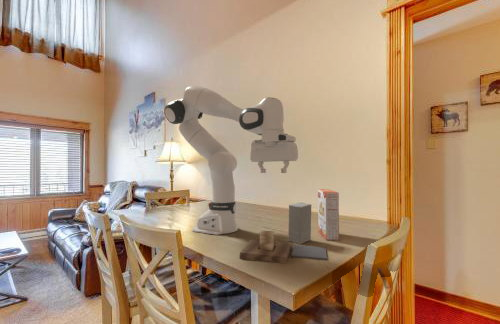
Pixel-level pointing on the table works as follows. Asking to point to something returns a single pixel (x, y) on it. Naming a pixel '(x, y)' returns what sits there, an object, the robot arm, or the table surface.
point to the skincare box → (299, 223)
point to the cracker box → (328, 214)
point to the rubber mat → (309, 252)
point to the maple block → (267, 240)
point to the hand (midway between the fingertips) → (273, 173)
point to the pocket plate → (266, 252)
